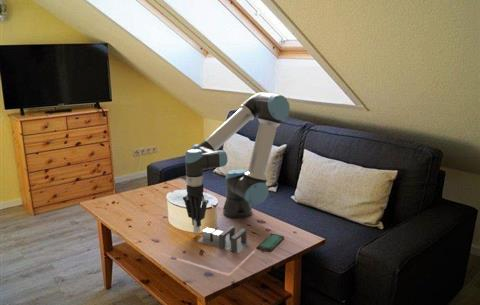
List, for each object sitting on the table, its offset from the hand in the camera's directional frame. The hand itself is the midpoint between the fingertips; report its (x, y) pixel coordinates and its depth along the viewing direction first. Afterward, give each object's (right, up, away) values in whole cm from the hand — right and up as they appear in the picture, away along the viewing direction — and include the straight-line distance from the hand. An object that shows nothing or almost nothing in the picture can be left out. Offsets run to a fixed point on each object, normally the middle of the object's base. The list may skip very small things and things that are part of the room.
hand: (196, 232), depth 182 cm
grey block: (+8, -2, -4) cm, 10 cm away
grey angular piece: (+13, -4, -6) cm, 15 cm away
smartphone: (+34, -4, -6) cm, 34 cm away
